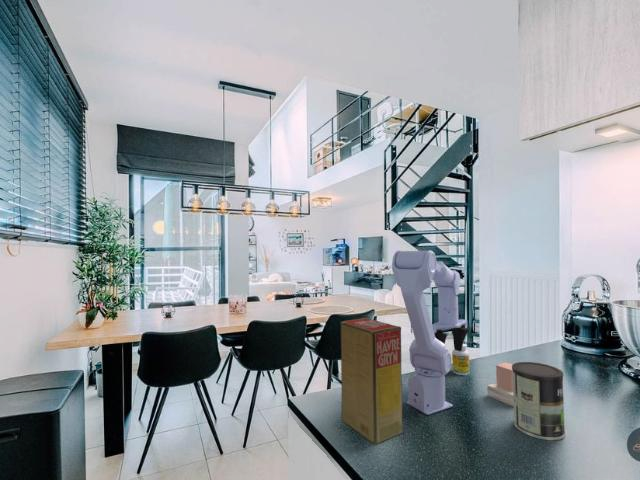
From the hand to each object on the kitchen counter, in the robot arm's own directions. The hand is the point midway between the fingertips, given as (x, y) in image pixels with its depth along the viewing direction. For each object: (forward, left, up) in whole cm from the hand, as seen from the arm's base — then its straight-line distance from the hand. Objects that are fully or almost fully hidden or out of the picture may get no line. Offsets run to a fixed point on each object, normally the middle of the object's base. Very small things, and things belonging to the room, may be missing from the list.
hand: (449, 352), depth 105 cm
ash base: (+8, -14, -10) cm, 19 cm away
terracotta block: (+8, -14, -7) cm, 18 cm away
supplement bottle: (+12, +6, -11) cm, 17 cm away
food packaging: (-35, -7, -11) cm, 37 cm away
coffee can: (-1, -27, -11) cm, 29 cm away
